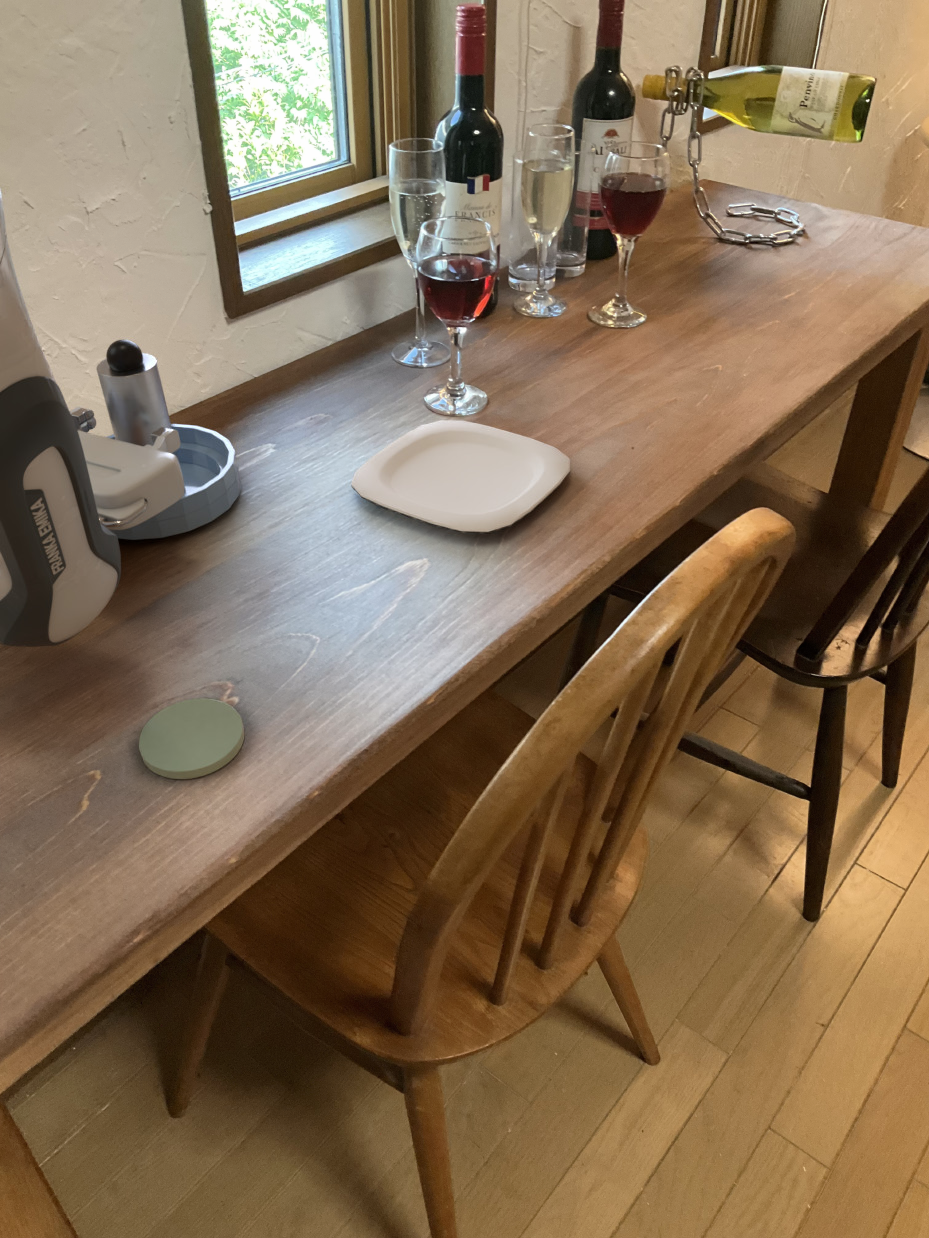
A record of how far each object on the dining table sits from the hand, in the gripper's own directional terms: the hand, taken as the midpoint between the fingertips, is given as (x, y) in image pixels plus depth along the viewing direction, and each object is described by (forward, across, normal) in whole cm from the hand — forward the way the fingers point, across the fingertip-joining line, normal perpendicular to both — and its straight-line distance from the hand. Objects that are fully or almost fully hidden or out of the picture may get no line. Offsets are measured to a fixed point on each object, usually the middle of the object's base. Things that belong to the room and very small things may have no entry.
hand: (130, 425), depth 84 cm
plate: (+16, -25, +9) cm, 31 cm away
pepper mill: (+2, 0, +8) cm, 8 cm away
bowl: (+2, 0, +9) cm, 9 cm away
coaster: (-23, -22, +9) cm, 33 cm away
